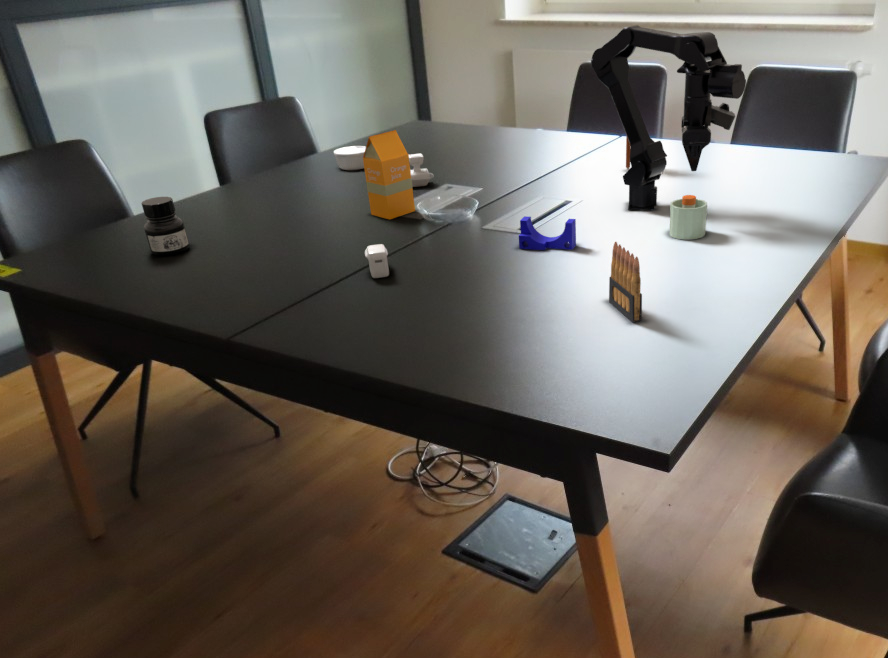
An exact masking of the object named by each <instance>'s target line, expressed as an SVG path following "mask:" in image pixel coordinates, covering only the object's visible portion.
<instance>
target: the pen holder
mask: <svg viewBox="0 0 888 658" xmlns="http://www.w3.org/2000/svg"><path fill="white" fill-rule="evenodd" d="M669 208H670V210H669V231H668V232H669V236H670V237H671V238H674V239H677V240H685V241H687V240H690V241H691V240H697V239H702V238H704V237H705V235H706V229H707V214H708V202H707V201H706V200H703V199H700V198H696V204H695V208H682V198H679V199H675V200H673V201H671V202H670V207H669Z"/></svg>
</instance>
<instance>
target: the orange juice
mask: <svg viewBox="0 0 888 658" xmlns="http://www.w3.org/2000/svg"><path fill="white" fill-rule="evenodd" d="M365 147H366V149H365V152H364V155H363V163H364V168H363V169H364V176H365V182H366V183H365V184H366V191H367V196H368V203H369V209H370V215H371V216H375V217H378V218H382V219H386V220H393V219H396V218H398V217H401V216H404V215H408V214H410V213H413V212H416V206H415V198H414V189H413V188H414V187H413V186H412V178H411V172H410V170H411V164H410V161H409V155H410V154H409V153H408V151H407V149H406V148H405V146H404V144H403V142H402V140H401V138H400V136H399V134H398V132H397V130H396V129H393V130H390V131H385V132H381V133H378V134H374V135H370V136H368V138H367V142H366V146H365Z"/></svg>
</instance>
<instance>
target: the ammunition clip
mask: <svg viewBox="0 0 888 658" xmlns="http://www.w3.org/2000/svg"><path fill="white" fill-rule="evenodd" d="M640 268H641V267H640V260H639V257H638V256H635V255H634V253H630V250H626V248H625V247H622V245H621V244H618V242H617V241H614V243H613V247H612V256H611V263H610V276H609V279H608V280H609V282H608V283H609V285H608V286H609V287H608V302H609V304H611V305H612V306H613V307H614V308H615V309H616V310H617V311H619V313H621V314H622V315H623V317H625V318H626V319H628V320H629V321H630V322H631V323H638V322H643V294H642V293H641V287H642V286H641V285H642V283H641V272H640V271H641V269H640Z"/></svg>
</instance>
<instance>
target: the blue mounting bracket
mask: <svg viewBox="0 0 888 658" xmlns="http://www.w3.org/2000/svg"><path fill="white" fill-rule="evenodd" d="M576 221H577V220H576V218H568V219H567V220H566V221H565V222H564V229H563V231H562V233H561V234H559V235H557V236H546V235H544V234H542V233H540V232H539V231H538V230H537V229H536V228H535V227H534V225H533V222H532V217H531V216H523V217H522V218H521V219H520V221H519V225H520V227H519V228H520V233H519V234H518V248H519V249H520V250H534V251H546V250H547V249H555V250H574V249H575V247H576V246H577V226H576V225H577V222H576Z"/></svg>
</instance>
